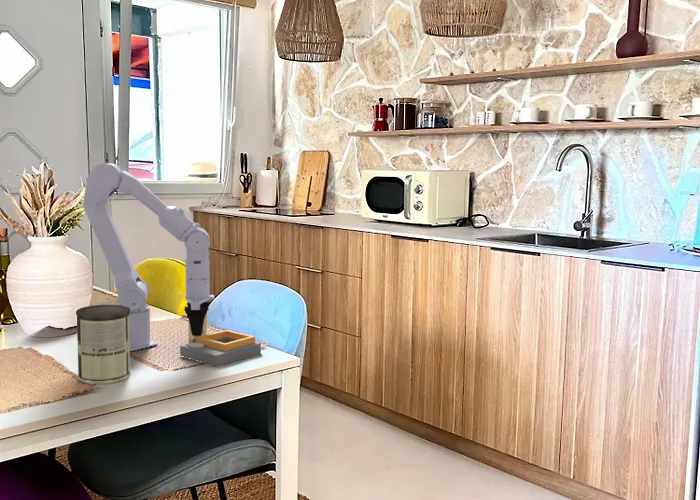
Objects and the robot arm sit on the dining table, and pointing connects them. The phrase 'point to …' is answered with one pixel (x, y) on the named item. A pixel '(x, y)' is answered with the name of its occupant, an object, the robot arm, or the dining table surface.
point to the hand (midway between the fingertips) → (197, 332)
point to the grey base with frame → (221, 348)
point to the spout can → (190, 337)
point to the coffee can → (103, 343)
